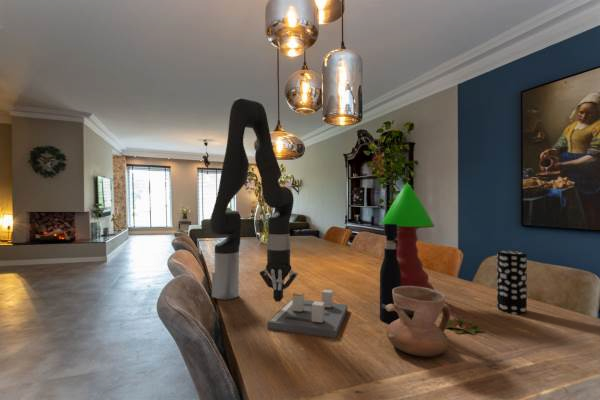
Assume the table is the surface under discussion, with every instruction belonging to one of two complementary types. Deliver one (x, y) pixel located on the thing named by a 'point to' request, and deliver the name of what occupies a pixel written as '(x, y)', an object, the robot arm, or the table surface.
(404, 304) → the ceramic jug
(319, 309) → the block
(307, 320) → the breaker panel
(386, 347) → the table surface
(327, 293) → the breaker
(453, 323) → the green leafy sprig
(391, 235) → the wine bottle
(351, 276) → the table surface
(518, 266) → the white-spotted black cylinder
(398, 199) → the table lamp
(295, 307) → the block
